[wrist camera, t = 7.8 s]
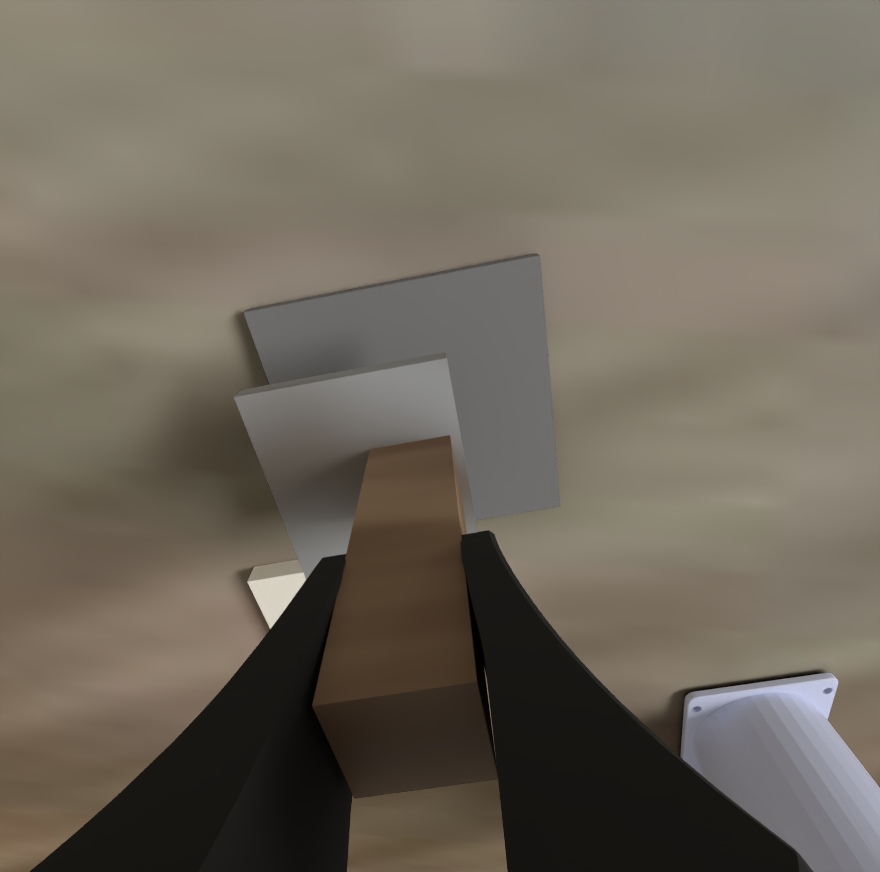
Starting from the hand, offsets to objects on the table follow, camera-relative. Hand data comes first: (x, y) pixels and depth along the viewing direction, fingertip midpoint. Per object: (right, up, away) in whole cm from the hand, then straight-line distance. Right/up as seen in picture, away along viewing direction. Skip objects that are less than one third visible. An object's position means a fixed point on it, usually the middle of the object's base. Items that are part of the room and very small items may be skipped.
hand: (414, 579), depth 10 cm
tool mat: (0, +4, +8) cm, 9 cm away
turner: (-2, +2, +5) cm, 5 cm away
